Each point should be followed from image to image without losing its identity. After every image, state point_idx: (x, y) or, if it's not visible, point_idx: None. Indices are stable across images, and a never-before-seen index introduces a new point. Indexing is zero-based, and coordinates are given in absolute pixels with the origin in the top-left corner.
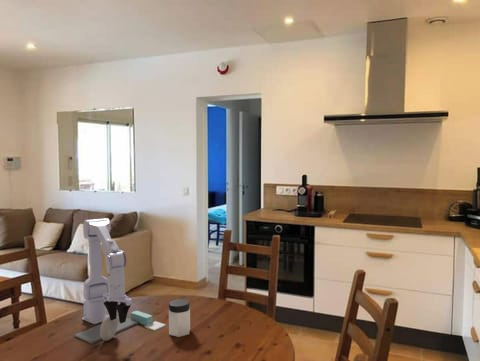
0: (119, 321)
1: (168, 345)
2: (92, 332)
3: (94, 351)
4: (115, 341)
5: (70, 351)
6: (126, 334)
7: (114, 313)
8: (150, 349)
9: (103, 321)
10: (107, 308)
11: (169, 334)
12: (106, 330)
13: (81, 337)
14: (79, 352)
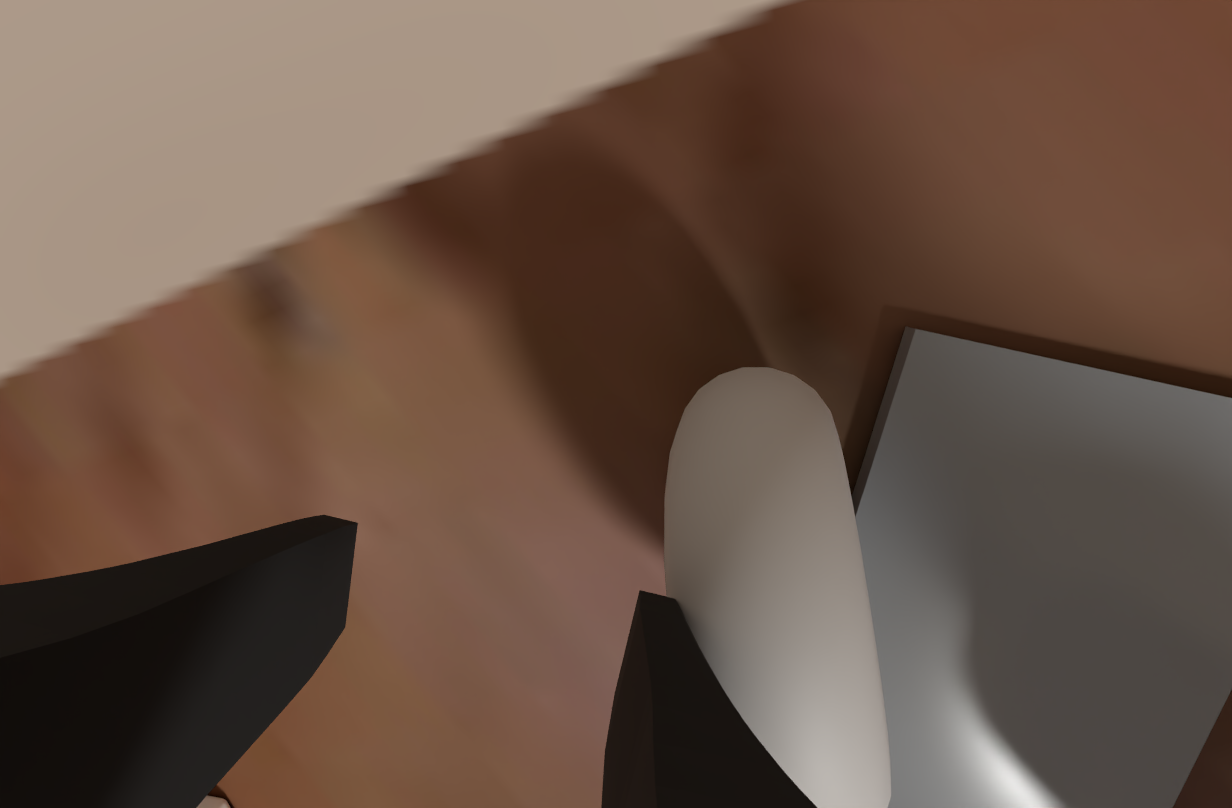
0: (336, 529)
1: None
2: (1113, 568)
3: (725, 181)
4: (657, 496)
5: (1062, 34)
6: None
7: (614, 765)
8: (172, 472)
9: (799, 502)
10: (738, 788)
11: (218, 798)
12: (684, 420)
13: (1176, 389)
14: (906, 70)
